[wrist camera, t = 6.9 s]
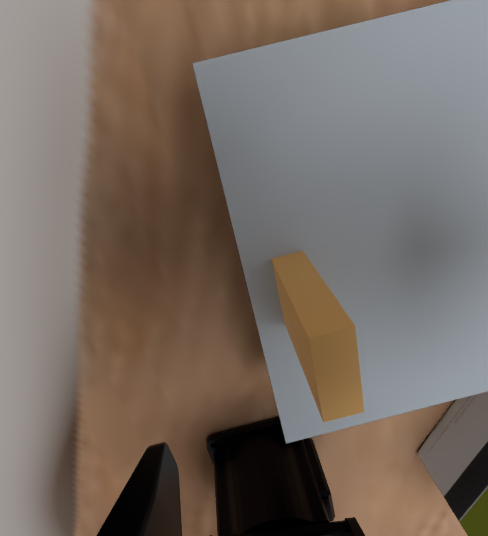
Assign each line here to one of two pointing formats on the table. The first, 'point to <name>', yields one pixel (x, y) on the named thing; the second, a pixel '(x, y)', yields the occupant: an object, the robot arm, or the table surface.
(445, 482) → the tea box
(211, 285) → the table surface
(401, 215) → the lid
